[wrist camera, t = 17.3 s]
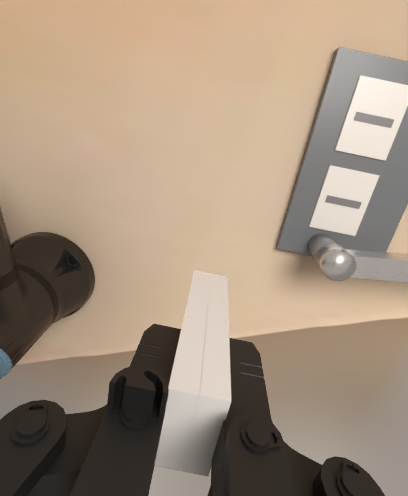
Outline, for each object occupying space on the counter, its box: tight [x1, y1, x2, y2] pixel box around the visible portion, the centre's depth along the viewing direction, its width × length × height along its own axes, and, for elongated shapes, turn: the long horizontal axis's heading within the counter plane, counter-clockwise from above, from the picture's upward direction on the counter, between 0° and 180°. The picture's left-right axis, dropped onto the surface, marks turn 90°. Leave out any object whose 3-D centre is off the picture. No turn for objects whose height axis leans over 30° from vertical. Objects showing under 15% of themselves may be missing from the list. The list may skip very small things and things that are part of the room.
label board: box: [276, 47, 408, 261], centre depth 39 cm, size 16×27×6 cm, turn 169°
